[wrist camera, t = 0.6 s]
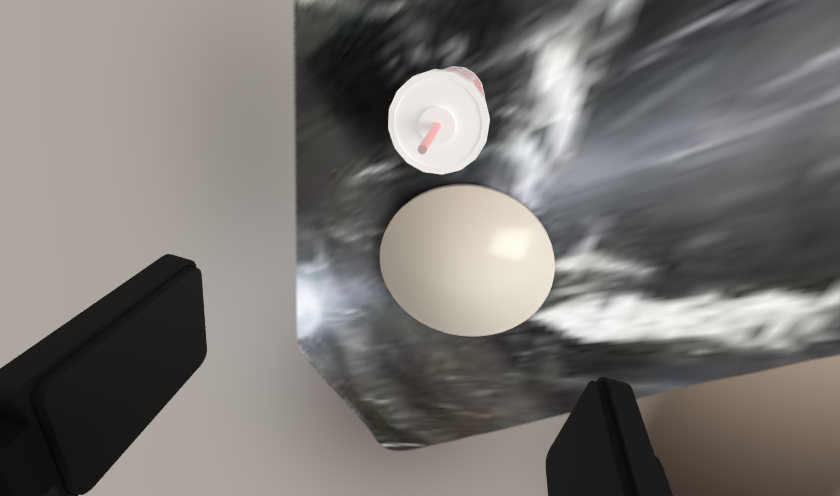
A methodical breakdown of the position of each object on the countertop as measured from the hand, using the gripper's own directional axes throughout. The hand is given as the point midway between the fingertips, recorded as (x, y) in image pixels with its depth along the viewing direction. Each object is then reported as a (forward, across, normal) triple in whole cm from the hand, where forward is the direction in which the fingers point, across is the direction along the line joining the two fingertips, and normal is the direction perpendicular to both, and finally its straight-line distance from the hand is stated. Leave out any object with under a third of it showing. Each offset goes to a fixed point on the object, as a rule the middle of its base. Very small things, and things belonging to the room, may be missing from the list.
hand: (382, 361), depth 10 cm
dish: (+27, -3, +13) cm, 30 cm away
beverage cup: (+27, +2, -1) cm, 27 cm away
